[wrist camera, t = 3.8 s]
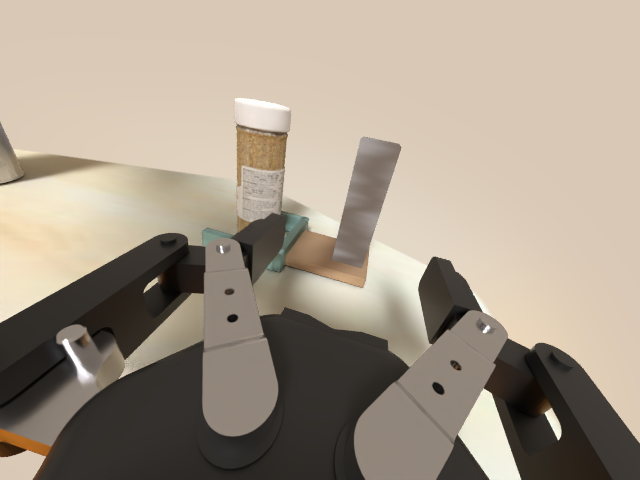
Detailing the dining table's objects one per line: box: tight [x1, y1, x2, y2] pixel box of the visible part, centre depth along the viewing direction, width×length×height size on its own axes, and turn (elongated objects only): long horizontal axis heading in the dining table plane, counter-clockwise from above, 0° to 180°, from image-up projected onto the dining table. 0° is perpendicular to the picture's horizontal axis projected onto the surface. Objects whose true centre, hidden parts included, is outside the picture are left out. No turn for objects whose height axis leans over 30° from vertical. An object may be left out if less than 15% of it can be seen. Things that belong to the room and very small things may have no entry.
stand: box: [202, 137, 401, 288], centre depth 21 cm, size 16×9×12 cm, turn 76°
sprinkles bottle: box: [234, 98, 291, 232], centre depth 22 cm, size 5×5×13 cm
